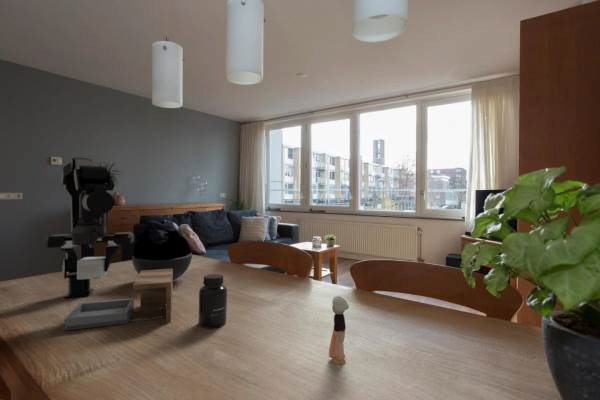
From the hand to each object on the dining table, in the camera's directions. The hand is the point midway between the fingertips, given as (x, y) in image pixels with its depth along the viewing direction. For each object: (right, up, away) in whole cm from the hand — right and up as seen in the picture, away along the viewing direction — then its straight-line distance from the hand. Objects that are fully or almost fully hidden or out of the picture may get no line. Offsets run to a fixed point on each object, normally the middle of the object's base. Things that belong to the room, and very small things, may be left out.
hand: (93, 272), depth 84 cm
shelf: (+15, -12, +2) cm, 19 cm away
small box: (0, -1, 0) cm, 1 cm away
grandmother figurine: (+62, -13, -20) cm, 67 cm away
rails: (+7, -12, -1) cm, 14 cm away
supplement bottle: (+32, -12, -4) cm, 35 cm away
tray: (+4, -12, -2) cm, 12 cm away
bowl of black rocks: (+5, -11, +32) cm, 34 cm away
